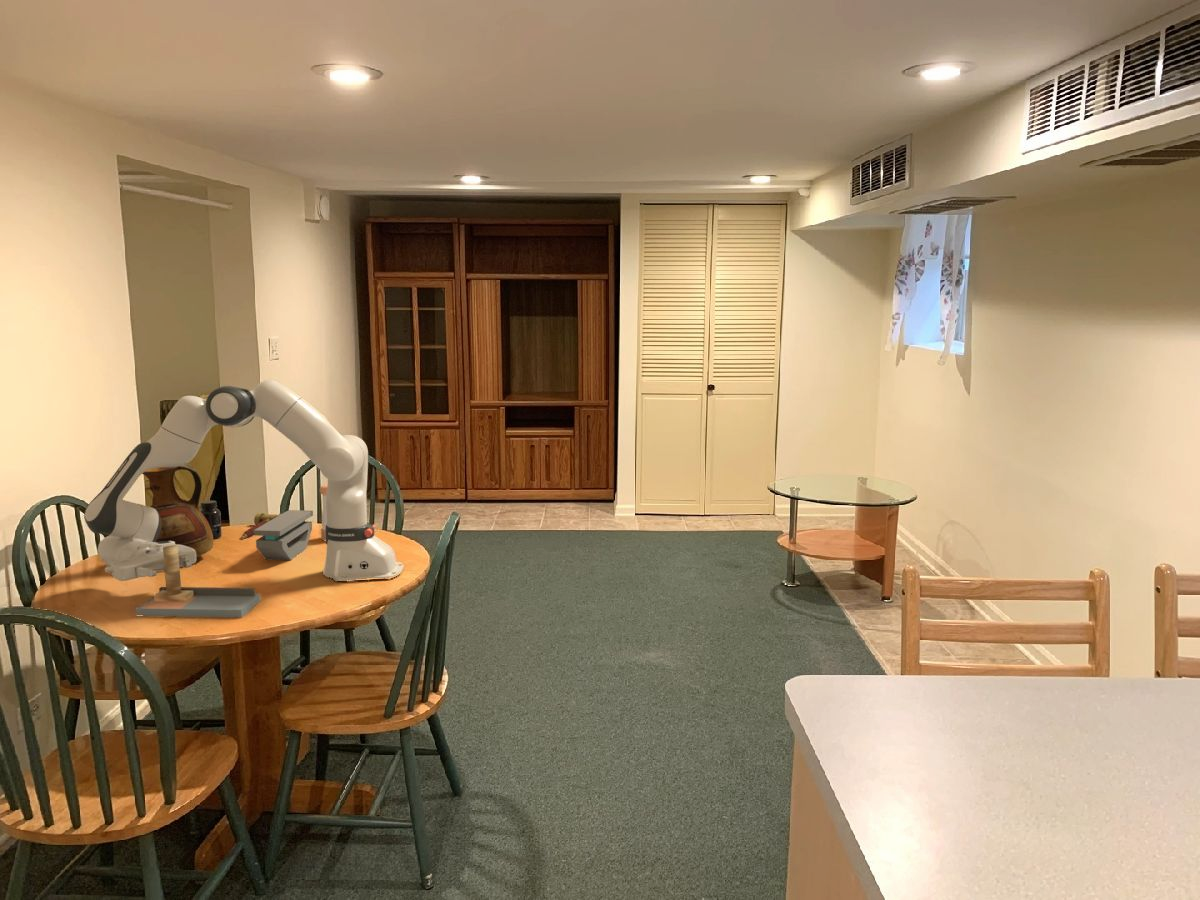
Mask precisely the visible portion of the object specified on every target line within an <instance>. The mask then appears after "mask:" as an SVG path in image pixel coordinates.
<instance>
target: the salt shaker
mask: <svg viewBox="0 0 1200 900" xmlns="http://www.w3.org/2000/svg"><path fill="white" fill-rule="evenodd" d="M327 486H328V483H325V484H323V485H321V486H320V488H319V492H320V494H321V495H322V512H321V529H320V538H321V539H322V540H326V539H325V529H326V525H327V515H326V494H327ZM322 540H321V541H322Z"/></svg>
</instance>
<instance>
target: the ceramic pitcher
mask: <svg viewBox="0 0 1200 900" xmlns="http://www.w3.org/2000/svg"><path fill="white" fill-rule="evenodd" d="M181 470H182V471H183V470H184V471H188V472H189V473H191V475H192V477H193V481H194V490H193V493H192V496H191V498H190V499H189V500H186V499H183V498H181V497H180V496H179V494H178V493H177V490H176V487H175V483H174V482H175V481H174V476H175V475H174V474H175V472H177V471H181ZM141 475H143V476H145V477H146V478H147V480H148V482H149V484H148V485H149V489H150V491H151V493H152V495H153V497H152V500H151V501H152V503H151V505H150V506H149V507H152V508H155V509H156V510H157V511H158V513H159V515H160V518H161V530H160V533H159V536H158V538H157V540H156V541H155V542H163V541H174V542H175V544H178V545H184V546H187V547H190V548H193V549H194V550H195V551H196V558H198V557H200V556H203V555H205V554H207V553H208V552H211V550H212V549H213V548H214V539H213V534H212V531H211V528H210V525H209V523H208V521H207V519H206V518H205V517H204V515H203V514H202V513H201V512H200V509H199V504H200V500H201V493H202V488H203V487H202V484H203V483H202V478H201V477H200V475H199V473H198V471H196V470H195V468H193V466H191V465H189V464H188V463H186V464H184V465H181V466H177V467H164V468H155V469H151V470H148V471H146V472H144V473H142V474H141Z"/></svg>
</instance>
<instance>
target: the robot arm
mask: <svg viewBox="0 0 1200 900" xmlns="http://www.w3.org/2000/svg"><path fill="white" fill-rule="evenodd" d="M255 417H257V418H260V419H262V420H264V421H265V422H267V423H268V424H269V425H271V426H272V427H273V428H275V429H276V430H277V431H278V432H280V433H281V434H282V435H283V436H284V437H286V438H287V439H288V440H289V441H290V442H292V443H293V444H295V446H296V447H298V448H299V449H300V451H302V452H303V454H305V455H306V457H307V458H308V459H309V460H310V461H311V462H312V463H313V464H314V465H315V466H316V467H317V468H318V469H319V470H320V472H321V475H323V477H325V478H326V479H327V484H328V486H327V494H326V515H327V525H326V529H325V539H326V541H325V543H326V553H325V554H326V555H325V562H324V568H323V571H322V575H323V576H324V575H325V577H326V578H329V577H330V578H329V579H332V578H333V579H332V580H334V581H335V582H337V581H347V580H348V581H347V582H350V581H349V580H356V579H367V578H386V577H387V578H389V577H393V576H395V575H397V574H399V573H400V572H401V571H402V569H403V567H404V568H405V566H404V564H403V563H402V562H400V561H397V559H396V554H395V551H394V549H393V547H392V546H390V545H389V544H387V543H385V542H384V541H383V540H381V539H380V538H379V537H377V536H376V535H375V528H376V524H371V523H369V522H368V514H367V513H368V509H367V507H368V506H367V490H368V472H369V470H368V469H369V450H368V446H367V444H366V442H365V441H364V440H363V439H362V438H361V437H359V436H357V435H354V434H353V435H352V434H345V435H344V434H343V435H342V434H341V433H339V431H338V430H337V429H336V428H335V427H334V426H333V425H332V424H331V423H330V422H329V420H328V419H327V417H326V416H325V415H324V414H322V413H321V411H319V410H318V409H317V408H315V407H314V406H313V405H311V404H310V403H309V402H308V401H307V400H305V399H304V398H303V397H302V396H300V395H299V394H297V393H296V392H295V391H293V390H292V389H290V388H289V387H287V386H286V385H283V384H282V383H280V382H278V381H276V380H273V379H266V380H263V381H261V382H260V383H258V384H257V385H256V386H255V387H254V388H252V389H251V390H250V389H247V388H241V387H238V386H237V387H236V386H231V385H224V386H219V387H217V388H215V389H213V390H212V391H211V392H210V393H209V394H208V395H207V397H206V398H205V399H204V398H202V397H199V396H196V395H185V396H182V397H180V398H179V399H178V400H177V402H176V403H175V404H174V405H173V407H172V408H171V409H170V411H169V412H168V413H167V415H166V417H165V419H164V420H163V422H162V424H161V426H160V427H159V429H158V430H157V432H156V433H155V434H154V435H153V436H151V438H150V439H148V440H147V441H145V442H140V443H139V444H137V445H136V446H135V447H134V448H133V449H132V450H131V451H130V453H129V454H128V455H127V456H126V457H125V459H124V460H123V462H122V463H121V464H120V466H119V467H118V469H117V470H116V471H115V472H114V474H113V475H112V476H111V477H110V479H109V480H108V482H107V483H106V484H105V486H104V487H103V489H102V490H101V491H100V492H98V494H97V495H96V496H95V497H93V499H92V500H91V501H90V502H89V503H88V505H87V506H86V507H85V510H84V515H83V518H84V523H86V526H87V527H88V529H89V530H90V531H91V532H92V533H93V534H98V535H106V537H104V538H102V540H100V542H99V544H98V547H97V553H98V556H99V559H100V560H101V562H103V563H104V564H105V565H107V567H105V568H104V572H105V573H109V574H111V576H112V577H113V578H114V579H116V580H118V581H121V582H127V581H130V580H131V581H132V580H133V579H139V578H145V577H147V578H152V577H155V576H157V573H163V572H165V567H164V554H163V547H165V546H170V545H176V546H178V553H179V567H180V568H181V567H182V568H185V569H187V568H188V569H189V568H192V566H193V564H196V562H197V557H196V551H195V550H194V549H193V548H190V547H187V546H184V545H178V544H175V542H174V541H163V542H155V541H156V540H157V538H158V536H159V533H160V530H161V518H160V515H159V513H158V511H157V510H156V509H155V508H152V507H150V506H148V505H144V504H140V503H136V502H132V501H129V500H125V499H124V498H125V497H126V495H127V494H128V492H129V491H130V490H131V488H132V487H133V485H134V484H135V483H136V481H137V480H138V479H139V478H140V476H141V475H143V474H142V473H144V472H146V471H148V470H151V469H155V468H164V467H177V466H181V465H184V464H189V463H190V462H191V461H192V460H193V459H194V458H195V457H196V455H197V454H198V452H199V450H200V448H201V447H202V444H203V442H204V440H205V439H206V436H207V435H208V433H209V431H211V428H213V427H214V426H218V425H220V426H223V427H226V428H227V427H228V428H237V427H238V428H239V427H243V426H246V425H248V424H249V423H250V422H252V420H253V419H254V418H255ZM399 565H401V566H399Z"/></svg>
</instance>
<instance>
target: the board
mask: <svg viewBox="0 0 1200 900" xmlns="http://www.w3.org/2000/svg"><path fill="white" fill-rule="evenodd" d="M158 590H159V591H158V592H160V591H161V590H166V586H160V587H159V589H158ZM181 590H193V593H194V596H193V597H192V598H190V599H189V600H188V601H155V599H154V596H152V597H150V598H149V599H148V600H146V601H145V602H143V603H142V604H140V605H139V606H138V607H135V616H136V615H143V616H142V617H144V616H176V617H175V618H243V617H245V615H246V614H248V613H249V612H250V611H251V610H252V609H253V608H254V607H255V606H256V605H258V604H259V603H260V602H261V593H256V591H255V587H216V586H214V587H205V586H204V587H201V586H198V587H195V586H194V587H193V586H191V587H190V586H186V587H185V586H181Z"/></svg>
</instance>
